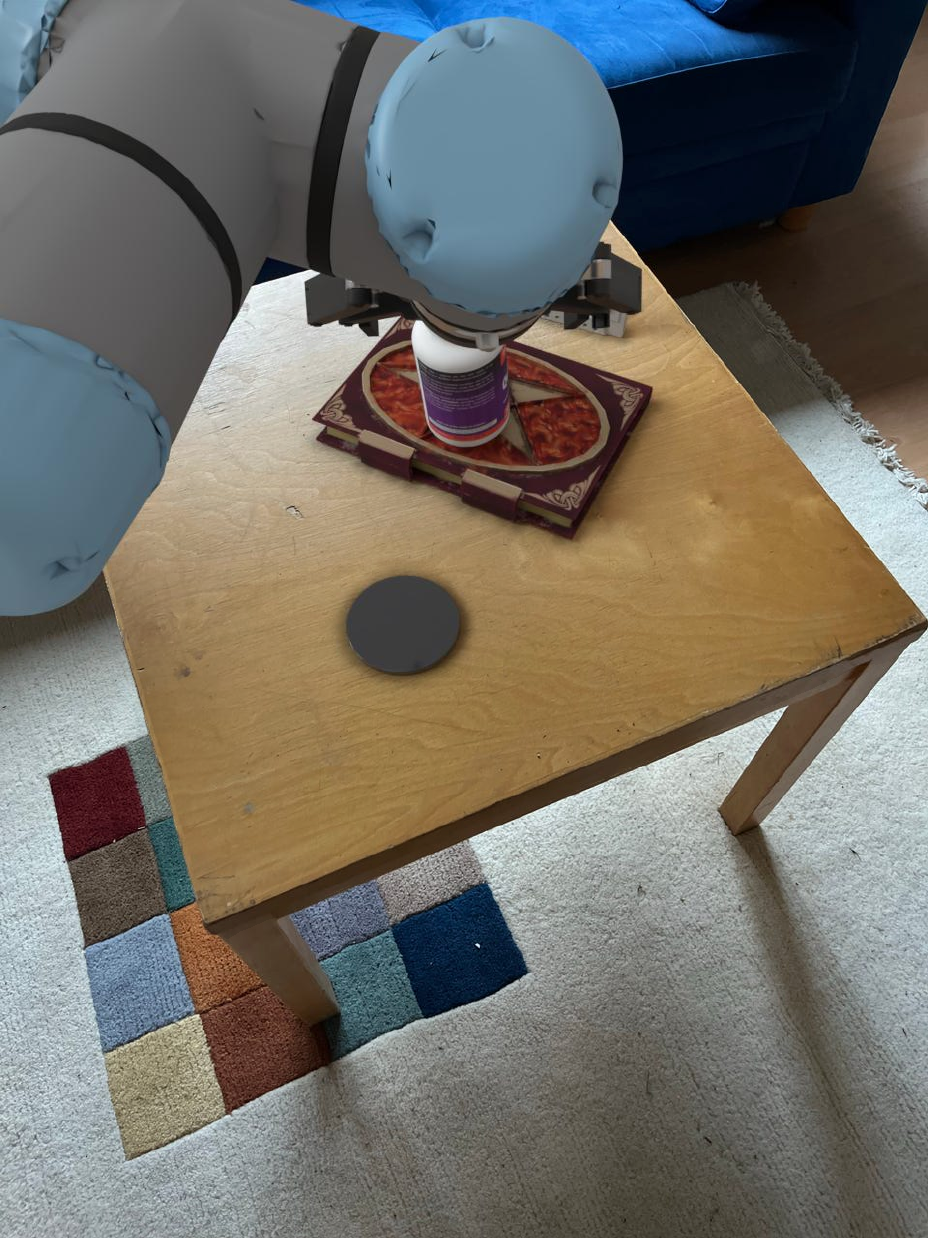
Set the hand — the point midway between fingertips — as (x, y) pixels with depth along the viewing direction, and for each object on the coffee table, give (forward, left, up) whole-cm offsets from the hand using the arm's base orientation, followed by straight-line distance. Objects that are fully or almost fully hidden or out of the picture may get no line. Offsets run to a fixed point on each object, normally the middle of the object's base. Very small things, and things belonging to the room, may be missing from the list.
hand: (470, 312), depth 59 cm
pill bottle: (-2, +11, -21) cm, 23 cm away
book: (-1, +15, -26) cm, 30 cm away
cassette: (+7, +32, -26) cm, 41 cm away
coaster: (-5, -10, -25) cm, 28 cm away
